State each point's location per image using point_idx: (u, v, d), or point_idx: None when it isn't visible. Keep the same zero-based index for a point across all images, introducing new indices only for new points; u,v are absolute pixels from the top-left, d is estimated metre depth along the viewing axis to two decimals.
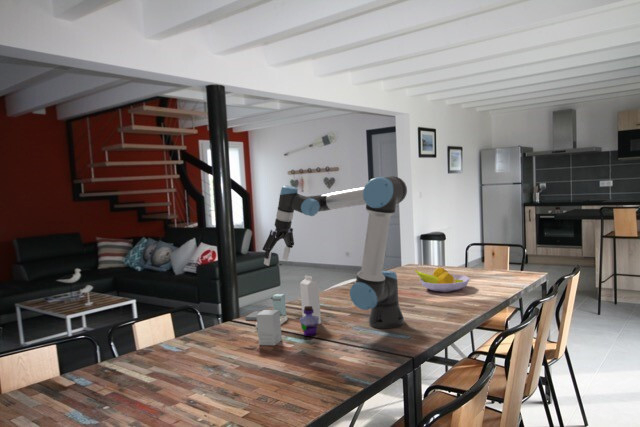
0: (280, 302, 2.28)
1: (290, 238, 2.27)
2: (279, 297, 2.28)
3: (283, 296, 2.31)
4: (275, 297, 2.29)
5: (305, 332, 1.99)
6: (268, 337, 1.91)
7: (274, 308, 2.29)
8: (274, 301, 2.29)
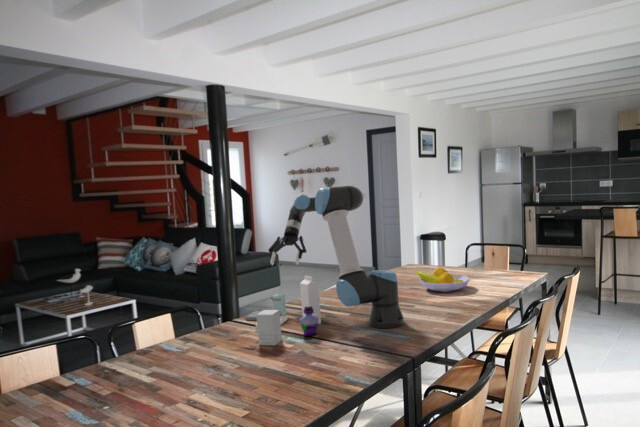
0: (280, 302, 2.28)
1: None
2: (279, 297, 2.28)
3: (283, 296, 2.31)
4: (275, 297, 2.29)
5: (305, 332, 1.99)
6: (268, 337, 1.91)
7: (274, 308, 2.29)
8: (274, 301, 2.29)
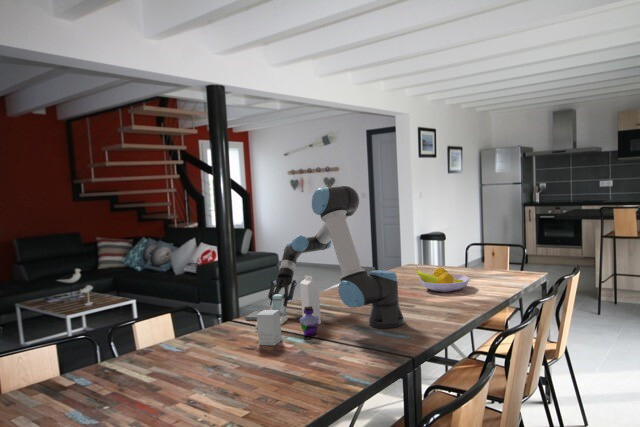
0: (280, 302, 2.28)
1: None
2: (279, 297, 2.28)
3: (283, 296, 2.31)
4: (275, 297, 2.29)
5: (305, 332, 1.99)
6: (268, 337, 1.91)
7: (274, 308, 2.29)
8: (274, 301, 2.29)
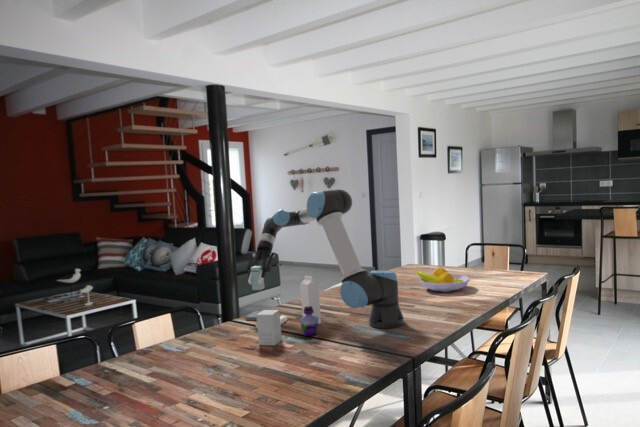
0: (258, 273, 2.31)
1: None
2: (257, 268, 2.31)
3: (261, 268, 2.34)
4: (253, 268, 2.32)
5: (305, 332, 1.99)
6: (268, 337, 1.91)
7: (252, 279, 2.32)
8: (252, 272, 2.32)
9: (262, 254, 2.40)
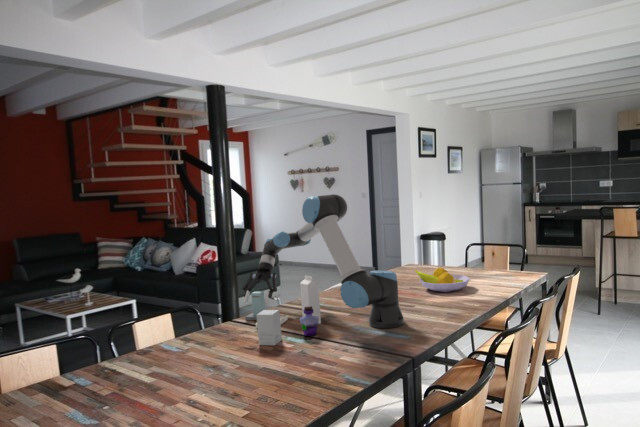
0: (259, 299, 2.31)
1: None
2: (258, 294, 2.31)
3: (262, 293, 2.34)
4: (254, 294, 2.32)
5: (305, 332, 1.99)
6: (268, 337, 1.91)
7: (253, 305, 2.33)
8: (253, 298, 2.32)
9: (262, 276, 2.40)
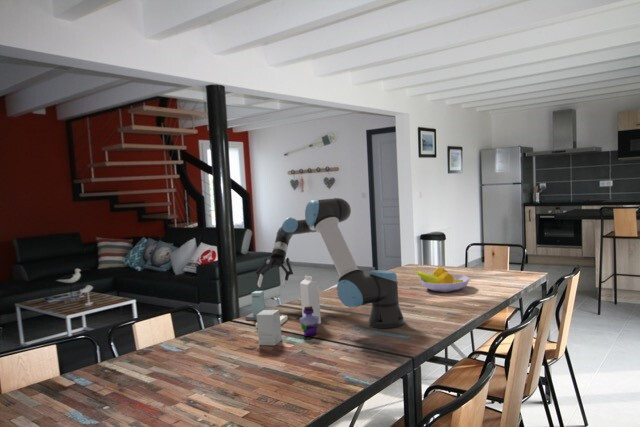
0: (259, 299, 2.31)
1: (288, 267, 2.48)
2: (258, 294, 2.31)
3: (262, 293, 2.34)
4: (254, 294, 2.32)
5: (305, 332, 1.99)
6: (268, 337, 1.91)
7: (253, 305, 2.33)
8: (253, 298, 2.32)
9: (276, 262, 2.52)
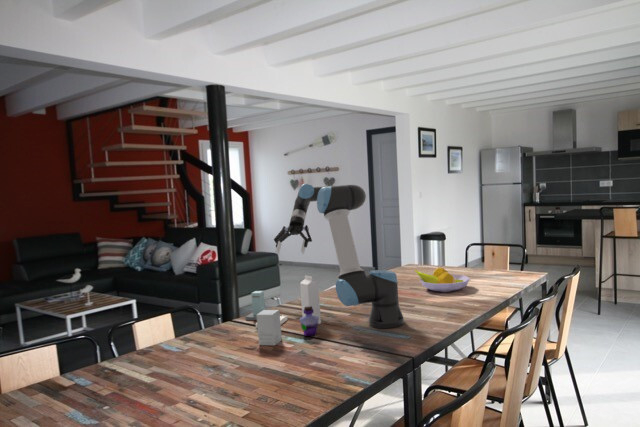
0: (259, 299, 2.31)
1: (307, 234, 2.45)
2: (258, 294, 2.31)
3: (262, 293, 2.34)
4: (254, 294, 2.32)
5: (305, 332, 1.99)
6: (268, 337, 1.91)
7: (253, 305, 2.33)
8: (253, 298, 2.32)
9: (295, 229, 2.49)
